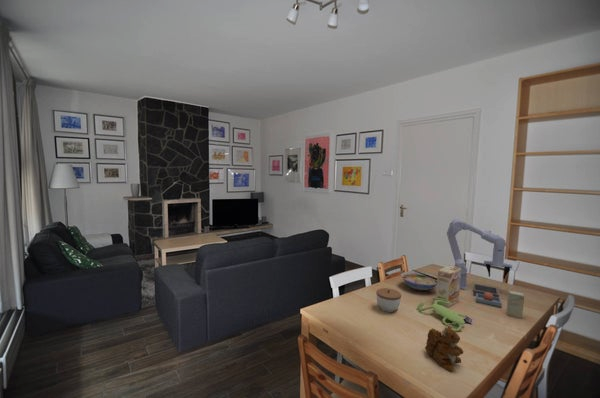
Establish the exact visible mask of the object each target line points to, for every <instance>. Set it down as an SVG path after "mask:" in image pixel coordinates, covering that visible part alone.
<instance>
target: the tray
mask: <svg viewBox="0 0 600 398" xmlns="http://www.w3.org/2000/svg"><path fill="white" fill-rule="evenodd" d="M483 295H484V294H479V293H476V296H475V303H476V304H481V305H486V306H490V307H494V308H500V309H502V307H503V306H502V305H503V303H502V298H501V297H500V296H499V297H494V296H493V297H494V298H493V300H492V301H489V300H485V299H484V297H483Z"/></svg>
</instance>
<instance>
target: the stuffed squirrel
mask: <svg viewBox="0 0 600 398" xmlns="http://www.w3.org/2000/svg"><path fill="white" fill-rule="evenodd" d="M447 327H448V328H446V327H445V329H442V330H441V331H439V330H438V329H437V330H436V329H434V328H431V329H429V331H428V333H427V338H426V342H425V344H426V346H424V349H425V352H426V353H427V355H429V356H430V357H432V358H434V360H436V362H437V364H439V366H441V367H442V368H443V369H445V370H446V371H448V372H454V370H455V368H454V366H453V365H454V364H455V363H461V362H462V358H461V357H460V355H463V354H464V350H463V348H461V346H459V345H458V343H459V342H460V340H461V337H460V335H459V334H458V333H457V332H455V331H454V330H452V329H453V328H452V327H451V326H449V325H448V326H447Z"/></svg>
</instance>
